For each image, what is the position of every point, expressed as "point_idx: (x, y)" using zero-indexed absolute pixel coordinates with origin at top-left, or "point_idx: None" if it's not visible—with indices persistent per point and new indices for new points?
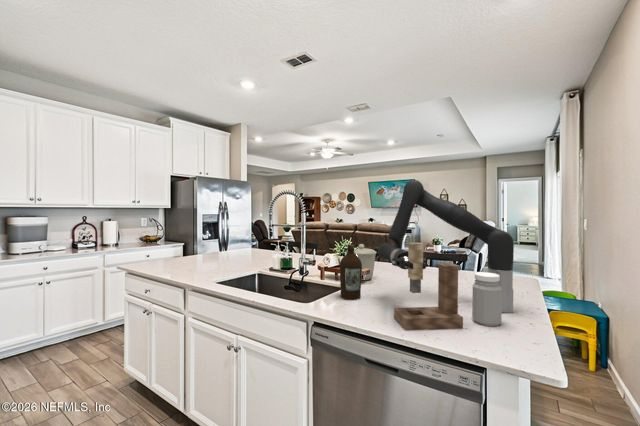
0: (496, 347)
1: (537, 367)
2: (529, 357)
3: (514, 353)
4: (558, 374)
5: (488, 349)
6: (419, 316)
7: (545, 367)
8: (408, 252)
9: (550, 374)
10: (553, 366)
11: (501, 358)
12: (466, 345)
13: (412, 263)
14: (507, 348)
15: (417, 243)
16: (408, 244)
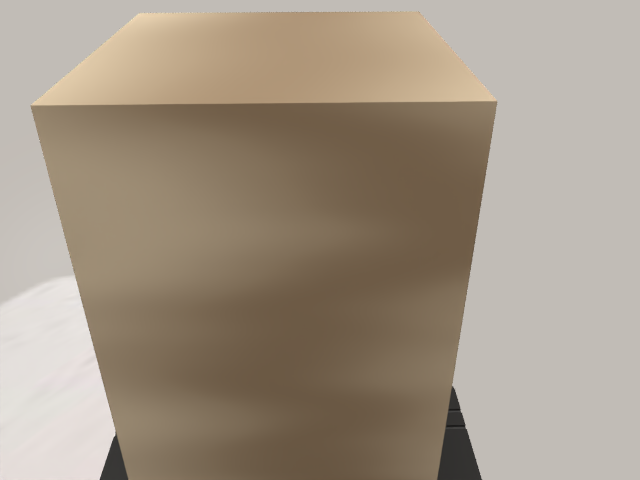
0: (49, 420)
1: (64, 308)
2: (12, 352)
3: (32, 376)
4: (48, 283)
5: (103, 407)
6: None
7: (39, 307)
8: (446, 392)
9: (71, 283)
10: (6, 310)
11: None
12: None
13: None
14: (11, 411)
15: (253, 29)
16: (483, 168)
